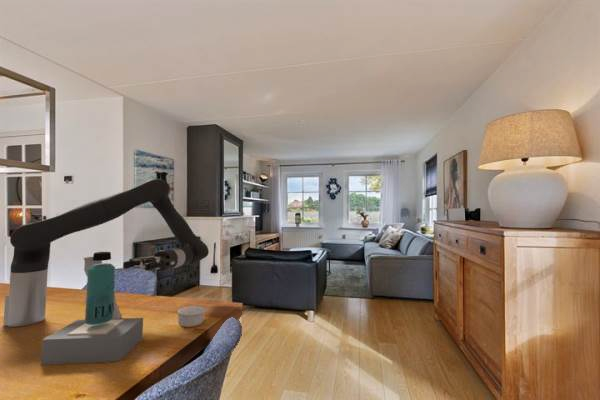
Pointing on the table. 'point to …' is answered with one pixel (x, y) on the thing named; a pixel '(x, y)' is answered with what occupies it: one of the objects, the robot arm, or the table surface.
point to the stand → (92, 341)
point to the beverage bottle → (100, 290)
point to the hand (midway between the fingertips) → (134, 266)
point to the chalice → (89, 265)
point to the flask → (116, 309)
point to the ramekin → (191, 316)
